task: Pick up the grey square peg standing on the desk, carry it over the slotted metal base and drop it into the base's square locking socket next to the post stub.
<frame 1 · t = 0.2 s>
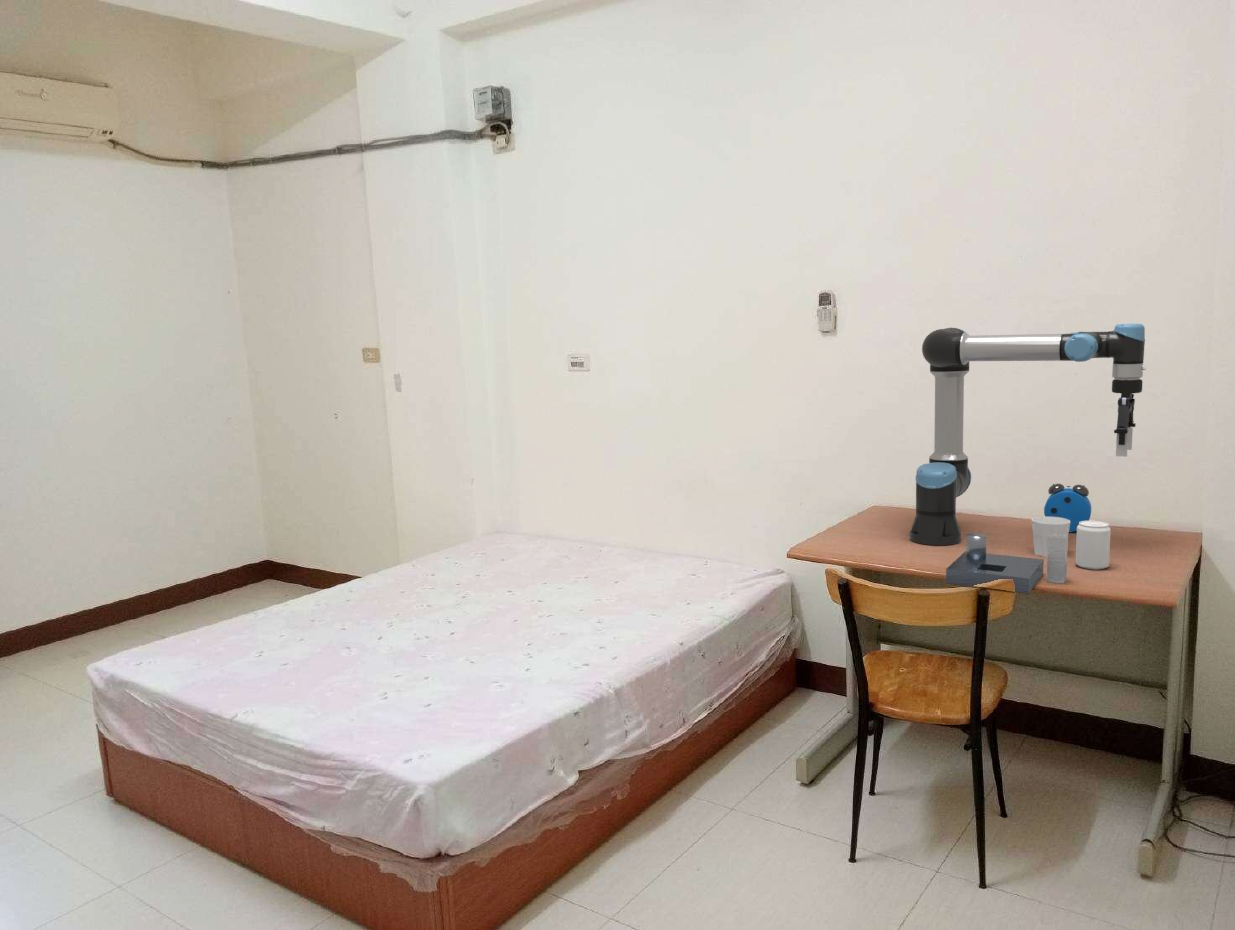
hand: (1123, 452, 259), 28 cm above the table, fingers open, 13 cm apart
beverage can: (1091, 567, 246), on the table
grey square peg: (1056, 580, 235), on the table
slotted metal base: (995, 578, 238), on the table
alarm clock: (1066, 531, 285), on the table
cup: (1049, 554, 260), on the table
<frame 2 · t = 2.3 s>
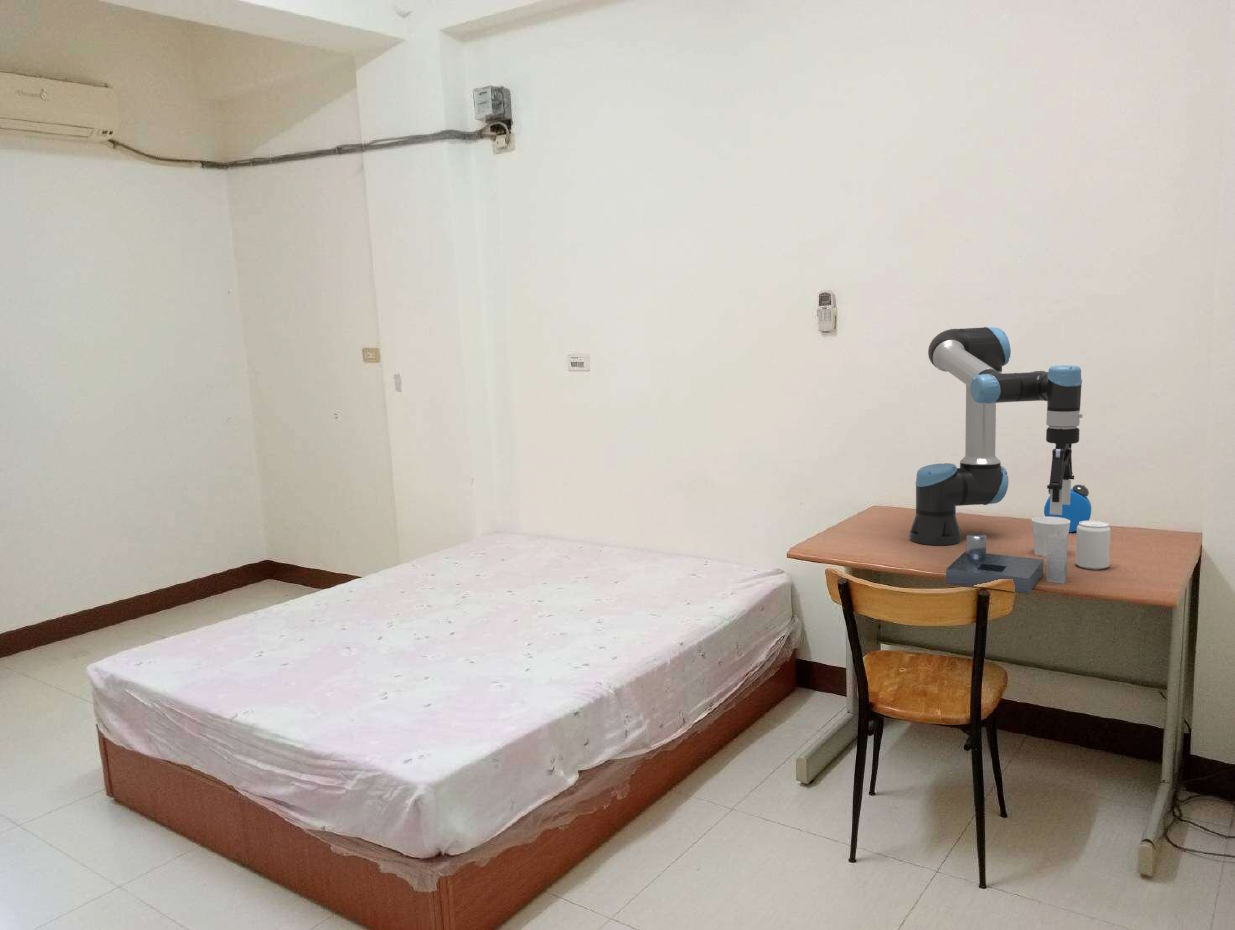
hand: (1060, 509, 232), 19 cm above the table, fingers open, 13 cm apart
nothing on the table moved.
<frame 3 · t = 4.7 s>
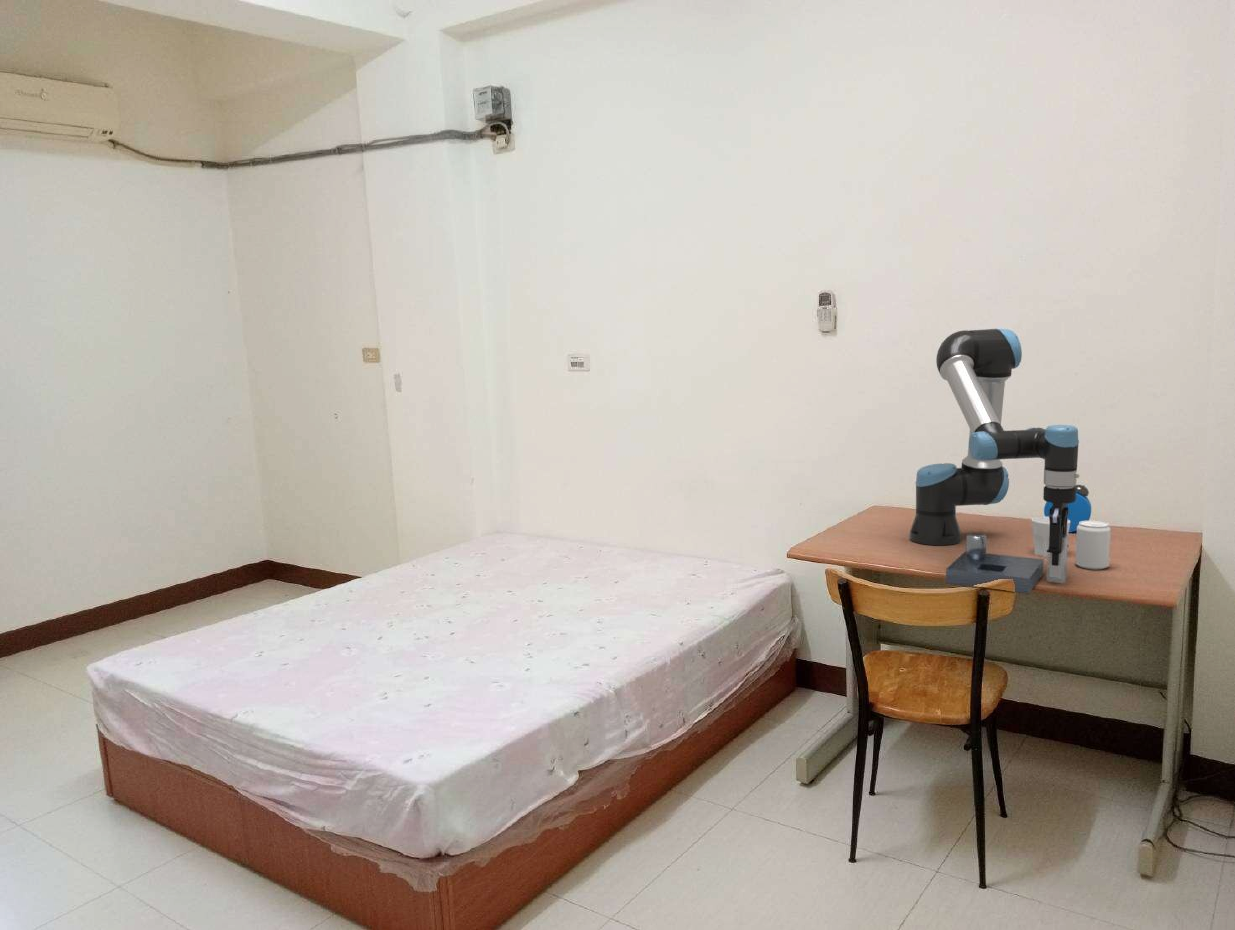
hand: (1056, 574, 234), 2 cm above the table, fingers closed on grey square peg, 4 cm apart
grey square peg: (1056, 580, 235), on the table, touching gripper
everything else where it was.
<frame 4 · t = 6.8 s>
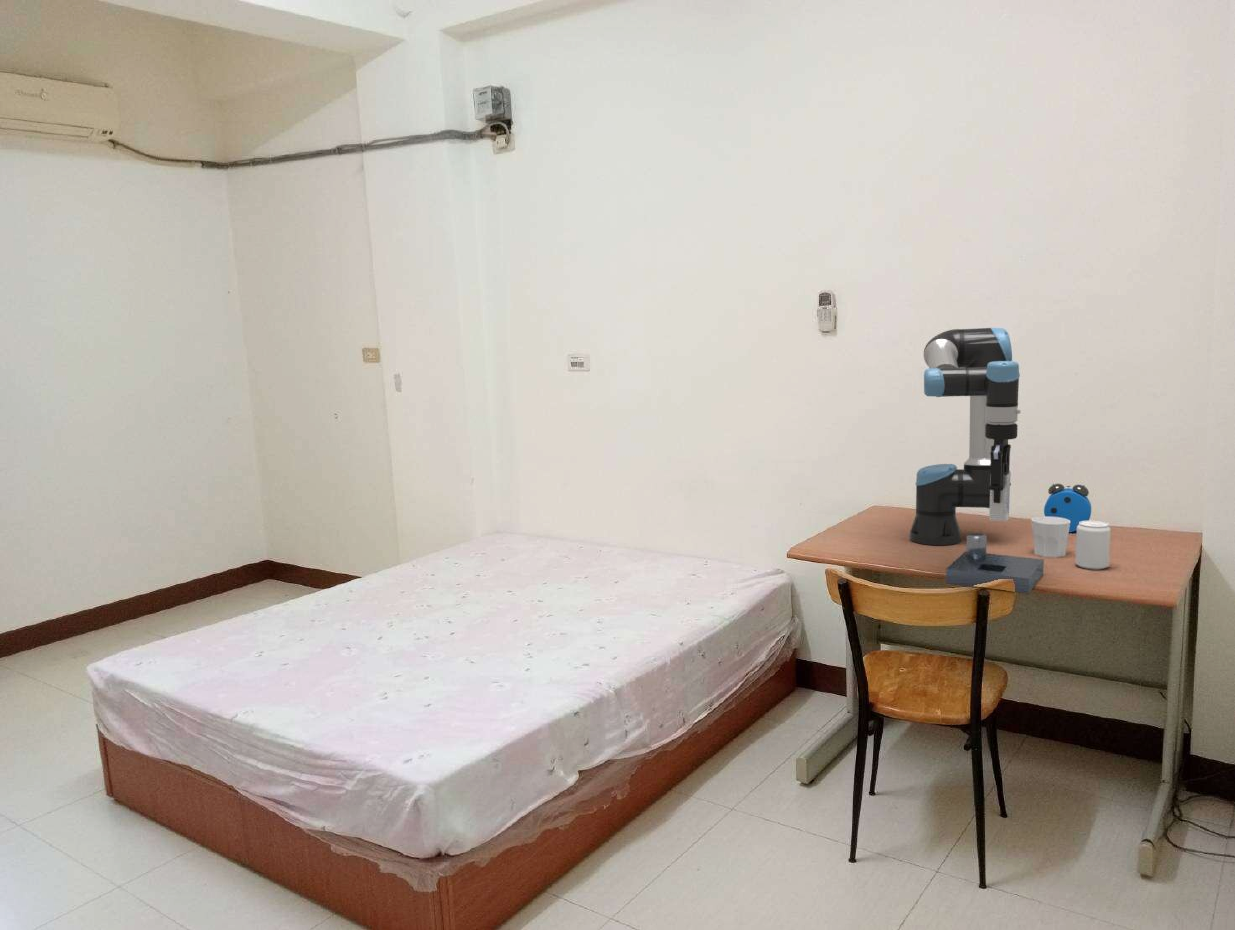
hand: (999, 512, 232), 19 cm above the table, fingers closed on grey square peg, 4 cm apart
grey square peg: (999, 519, 233), point 17 cm above the table, touching gripper
everything else where it was.
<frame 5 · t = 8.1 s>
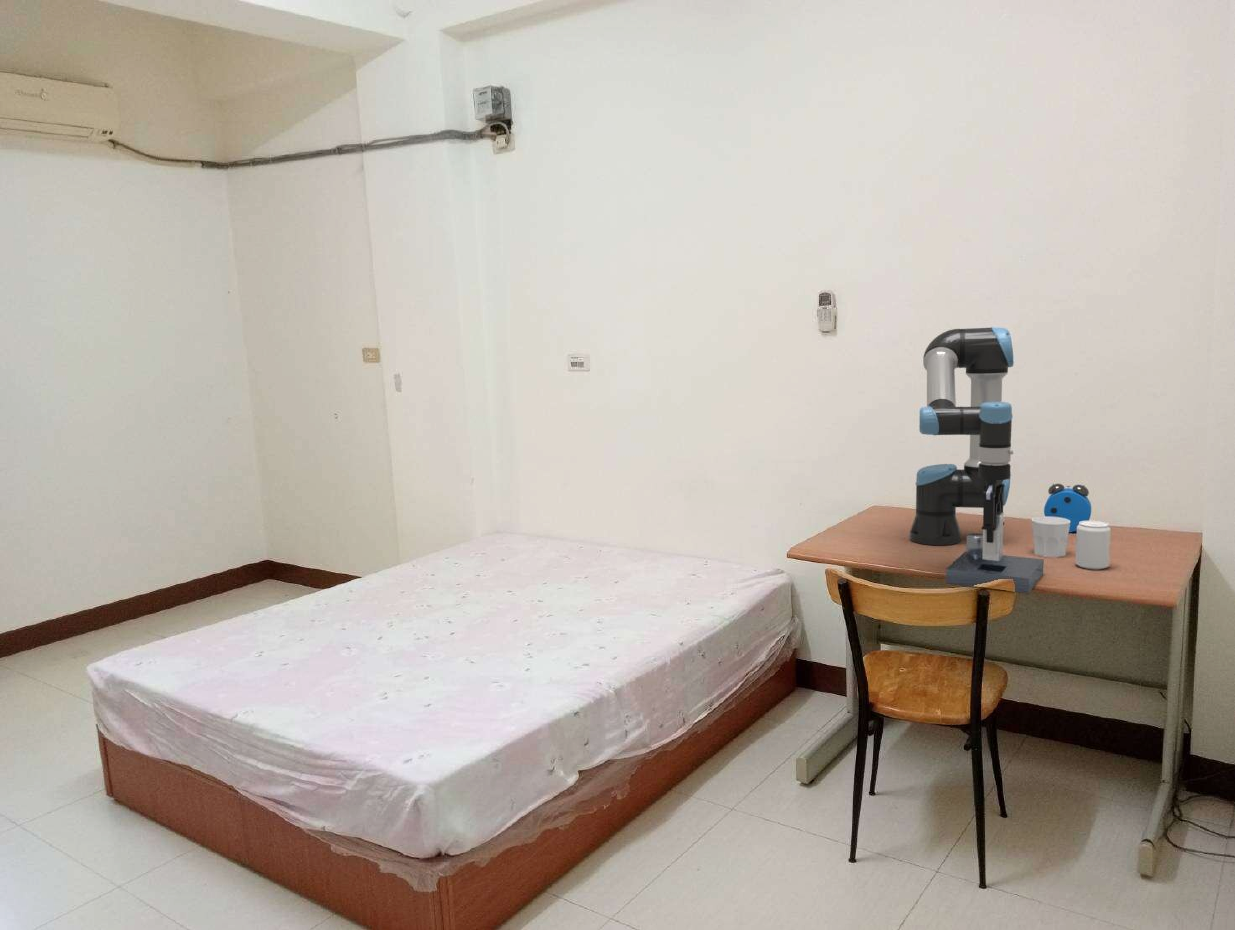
hand: (992, 551, 234), 8 cm above the table, fingers closed on grey square peg, 4 cm apart
grey square peg: (992, 558, 234), point 7 cm above the table, touching gripper
everything else where it was.
when the fingers open (5 cm above the table, at t = 9.0 s): grey square peg drops 3 cm, resting in slotted metal base.
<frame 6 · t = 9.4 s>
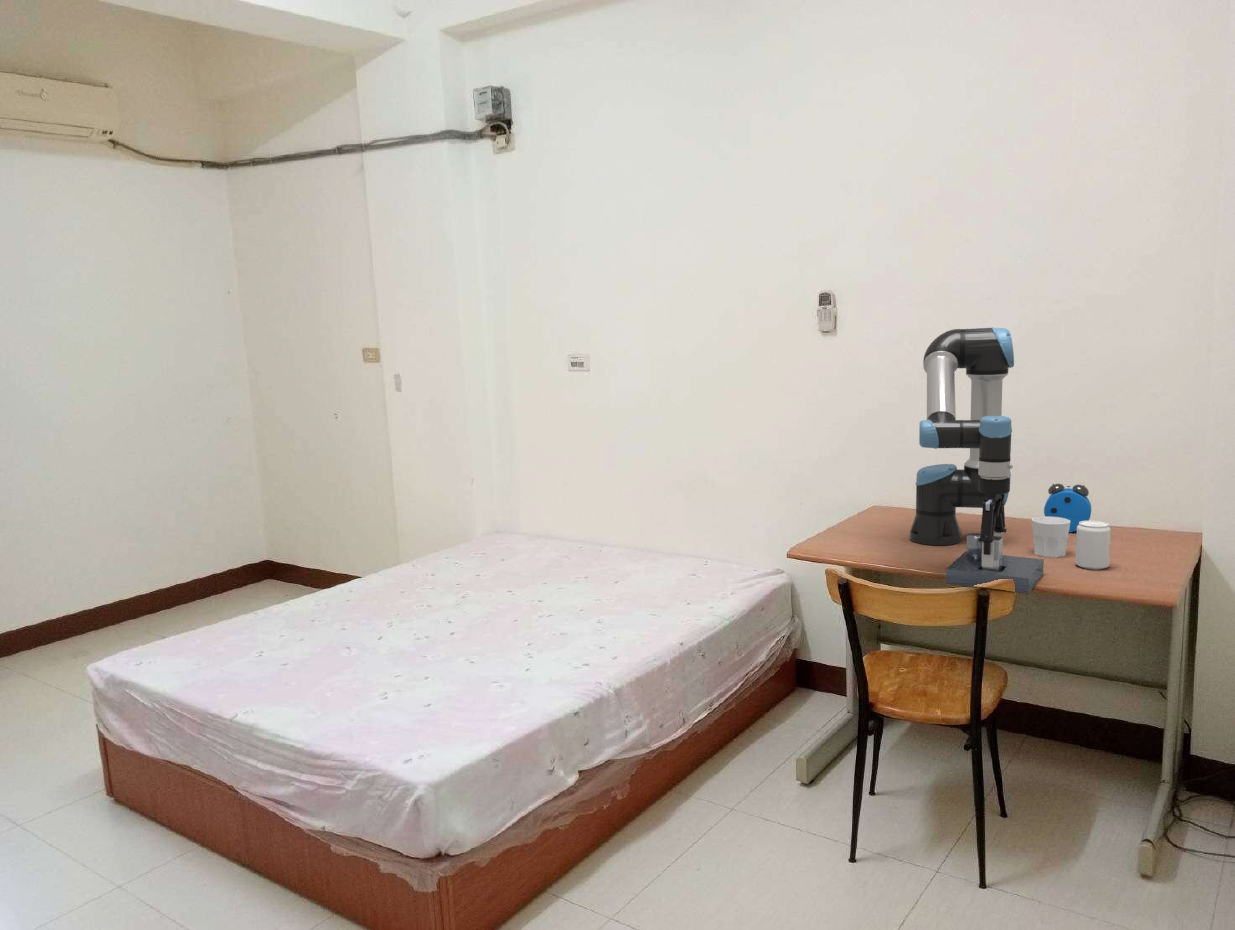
hand: (992, 561, 234), 6 cm above the table, fingers open, 10 cm apart
grey square peg: (991, 582, 235), resting in slotted metal base
everything else where it was.
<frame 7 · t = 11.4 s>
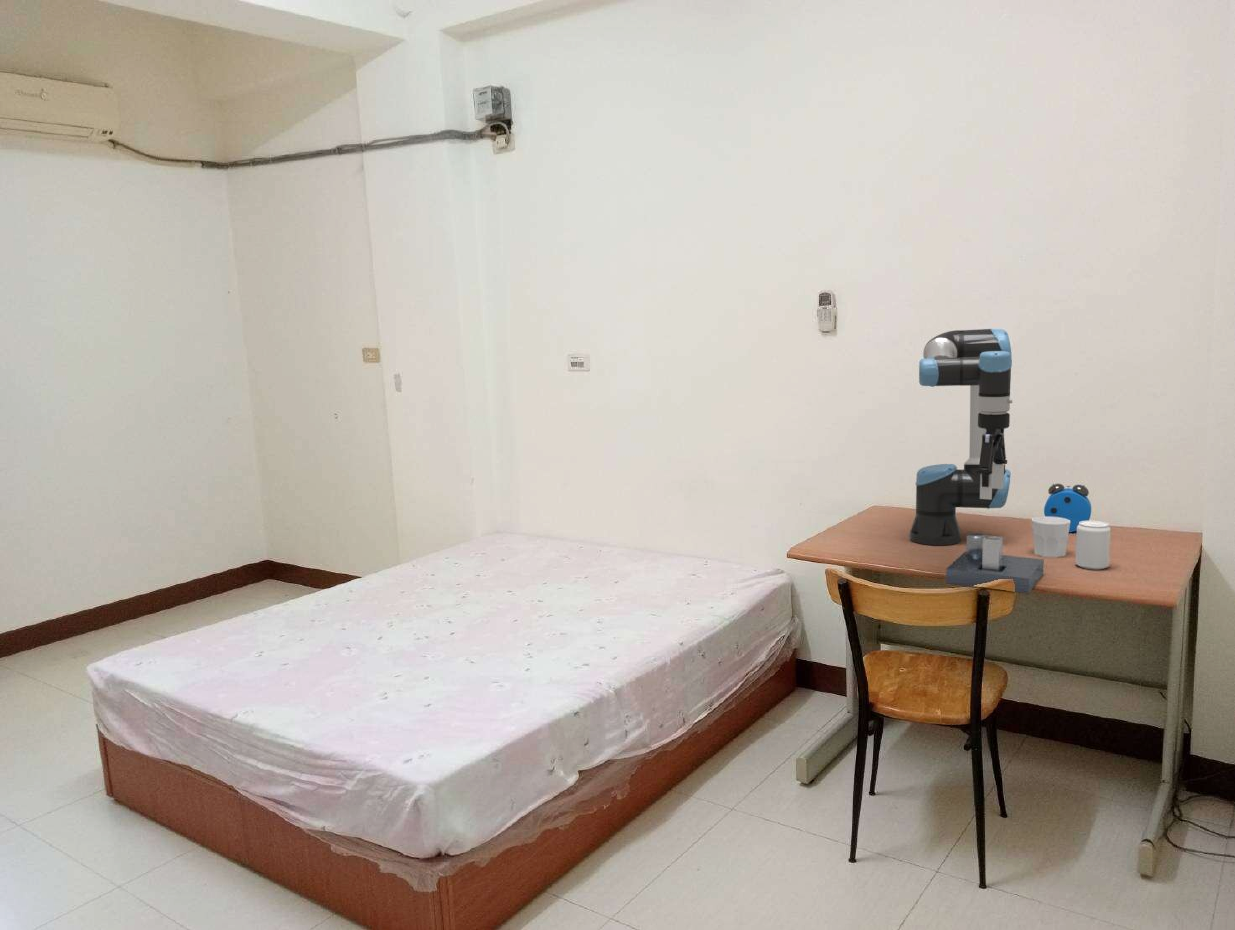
hand: (991, 493, 234), 23 cm above the table, fingers open, 13 cm apart
nothing on the table moved.
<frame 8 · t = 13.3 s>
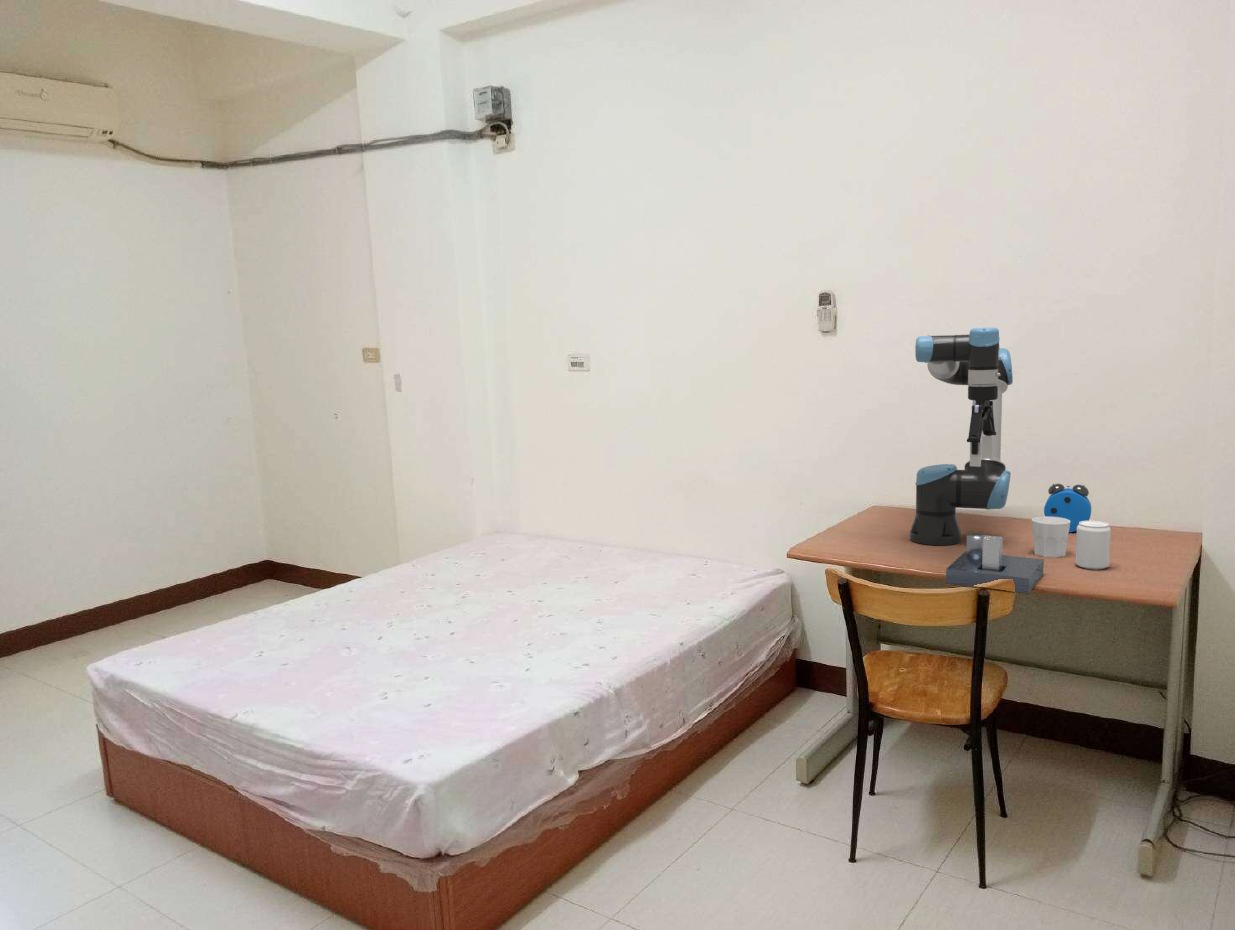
hand: (981, 462, 248), 29 cm above the table, fingers open, 13 cm apart
nothing on the table moved.
at the end: grey square peg 0.1 cm from the target spot on the slotted metal base, point 0.0 cm above the slotted metal base's base; grey square peg tilted 0°; the gripper is holding nothing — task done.
